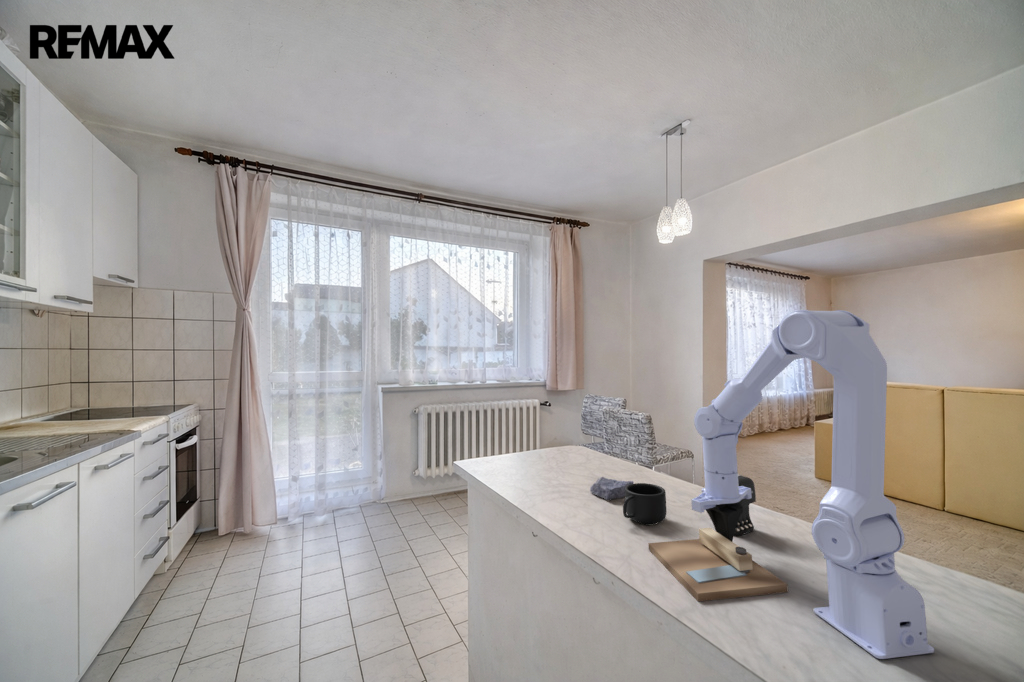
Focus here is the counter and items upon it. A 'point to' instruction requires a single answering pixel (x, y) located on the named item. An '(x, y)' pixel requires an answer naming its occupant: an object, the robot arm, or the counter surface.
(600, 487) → the rock
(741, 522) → the battery charger
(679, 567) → the board
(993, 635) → the counter surface
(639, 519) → the mug
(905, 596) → the robot arm
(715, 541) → the leg
